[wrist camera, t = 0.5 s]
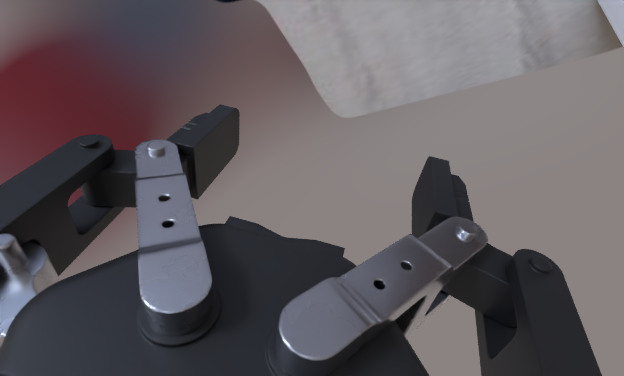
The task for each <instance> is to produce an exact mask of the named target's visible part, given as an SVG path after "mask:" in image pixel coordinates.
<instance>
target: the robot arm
mask: <svg viewBox="0 0 624 376" xmlns="http://www.w3.org/2000/svg"><path fill="white" fill-rule="evenodd" d="M238 145H239V110H238V109H237V108H233V107H228V106H224V105H219V106H217V107H216V108H215V109H214V110H213V111H211V112H210V113H204V114H201V115H198V116H196V117H194V118H193V119H192V120H191V121H189V123H187V124H186V125H184V126H183V128H180V130H178V131H177V132H175V133H174V134H173V135H172V136H170V137H169V138H168V139H167V140H159V139H158V140H149V141H145V142H143V143H141V144H139V145H138V146H137V147H136V148H135V151H130V150H114V148H113V144H112V141H111V139H109V138H108V137H106V136H102V135H85V136H80V137H77V138H75V139H72V140H71V141H69V142H67V143H66V144H65V145H63V146H61V147H60V148H58V149H57V150H55V151H53V152H52V153H51V154H49V155H47V156H46V157H44V158H42V159H41V160H39V161H38V162H36V163H35V164H33V165H31V166H30V167H28V168H27V169H25V170H24V171H22V172H21V173H19V174H17V175H16V176H14V177H13V178H11V179H10V180H8V181H6V182H5V183H3V184H2V185H0V376H429V374H428V373H427V371H426V369H425V368H424V366H423V365H422V363H421V361H420V360H419V358H418V357H417V355H416V353H415V352H414V350H413V349H412V347H411V345H410V344H409V342H408V339H409V338H410V337H411V335H412V334H413V333H414V332H415V330H416V329H417V328H418V327H419V326H420V325H421V324H422V323H423V322H424V321H425V320H426V319H427V318H428V317H429V316H431V315H432V314H433V313H434V312H435V311H436V310H437V309H438V308H439V307H441V306H442V305H443V304H444V303H445V302H446V301H447V300H448V299H449V298H451V296H453V297H454V298H456V299H458V300H460V301H462V302H463V303H465V304H467V305H469V306H470V307H472V308H474V309H475V316H476V326H477V336H478V345H479V356H480V366H481V375H482V376H602V375H601V372H600V369H599V367H598V364H597V362H596V359H595V356H594V354H593V351H592V349H591V346H590V343H589V341H588V338H587V335H586V333H585V330H584V328H583V325H582V322H581V320H580V317H579V315H578V312H577V309H576V307H575V304H574V302H573V299H572V296H571V294H570V291H569V289H568V286H567V283H566V281H565V278H564V275H563V273H562V271H561V270H560V268H559V267H558V266H557V265H556V264H555V263H554V262H553V261H552V260H551V259H549V258H548V257H546V256H545V255H543V254H541V253H539V252H536V251H533V250H529V249H521V250H518V251H517V252H516V253H515V254H514V255H513V256H511V255H509V254H507V253H505V252H503V251H501V250H498V249H496V248H495V247H493V246H491V245H490V244H488V243H487V242H488V237H487V234H486V233H485V231H484V230H483V229H482V228H481V227H480V226H479V225H477V224H476V223H474V221H473V217H472V212H471V208H470V204H469V202H468V201H469V199H468V195H467V190H466V185H465V184H464V183H463V181H462V180H461V179H460V177H459V176H456V175H452V174H451V172H450V166H449V161H447V160H443V159H439V158H435V157H428V159H427V161H426V163H425V166H424V168H423V170H422V173H421V175H420V177H419V180H418V182H417V185H416V187H415V190H414V193H413V197H412V234H409V235H407V236H405V237H403V238H402V239H400V240H399V241H397V242H395V243H394V244H392V245H390V246H389V247H387V248H386V249H384V250H382V251H381V252H379V253H378V254H376V255H374V256H373V257H371V258H370V259H368V260H366V261H365V262H363V263H362V264H360V265H358V266H356V265H355V264H354V263H352V262H351V261H349V260H347V259H346V258H344V257H343V253H344V249H345V248H342V247H339V246H335V245H331V244H328V243H324V242H321V241H317V240H308V239H297V238H286V237H282V236H280V235H278V234H276V233H274V232H272V231H271V230H269V229H266V228H265V227H263V226H261V225H259V224H256V223H253V222H249V221H246V220H242V219H239V218H235V217H231V216H230V217H229V218H228V220H227V221H226V223H225V224H208V225H203V226H198V224H197V219H196V215H195V211H194V207H193V203H192V199H191V197H192V198H195V199H198V198H199V197H200V196H201V195H202V194H203V192H204V191H205V190H206V189H207V188H208V186H209V185H210V184H211V183H212V182H213V181H214V179H215V178H216V177H217V176H218V174H219V173H220V172H221V171H222V170H223V169H224V167H225V166H226V165H227V164H228V163H229V161H230V160H231V159H232V158H233V157H234V155H235V153H236V152H237V149H238ZM78 188H80V189H81V192H82V194H83V195H82V196H81V197H80V198H79V199H77V200H76V201H75V202H74V203H73V204H71V205H70V206H69V207H68V200H69V198H70V196H71V195H72V193H73V192H75V191H76V190H77V189H78ZM125 207H136V210H137V227H138V243H139V250H136V251H134V252H131V253H129V254H127V255H124V256H121V257H119V258H116V259H114V260H111V261H108V262H106V263H104V264H101V265H98V266H96V267H93V268H91V269H88V270H86V271H83V272H81V273H78V274H76V275H73V276H71V277H68V278H66V279H63V280H61V281H59V282H58V280H59V279H58V276H59V275H60V274H61V273H62V272H63V271H64V270H65V269H66V268H67V267H68V266H69V265H70V264H71V263H72V262H73V261H74V260H75V259H76V257H78V256H79V255H80V254H81V252H83V251H84V249H85V248H86V247H87V246H88V245H89V244H90V243H91V242H92V241H93V240H94V239H95V238H96V237H97V236H98V235H99V234H100V233H101V232H102V231H103V230H104V229H105V228H106V227H107V226H108V225H109V224H110V223H111V222H112V221H113V220H114V219H115V217H116V216H117V215H118V214H119V213H120V212H121V211H122V210H123V209H124V208H125Z"/></svg>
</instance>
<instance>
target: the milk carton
mask: <svg viewBox="0 0 624 376" xmlns="http://www.w3.org/2000/svg"><path fill="white" fill-rule="evenodd" d="M597 1H598V3H599V4H600V6H601V8H602V10H603V12H604V13H605V15H606V17H607V19H608V21H609V22H610V24H611V26H612V28H613V29H614V31H615V33H616V35H617V37H618V38H619V40H620V42H621V44H622V46H623V47H624V0H597Z"/></svg>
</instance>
